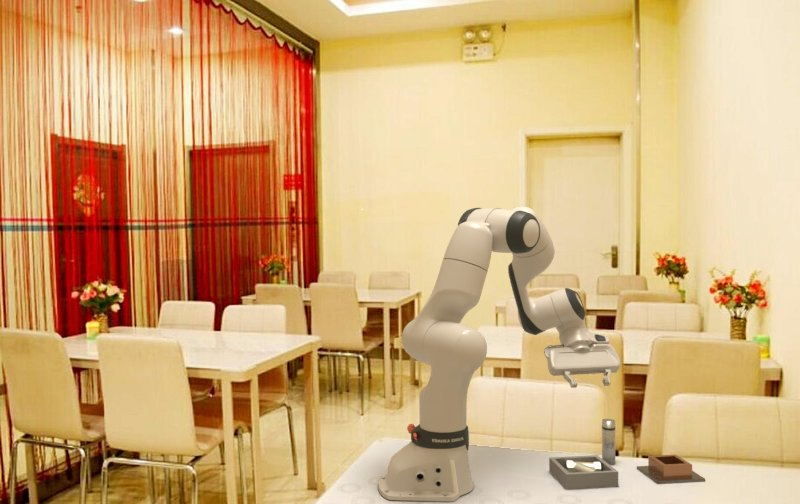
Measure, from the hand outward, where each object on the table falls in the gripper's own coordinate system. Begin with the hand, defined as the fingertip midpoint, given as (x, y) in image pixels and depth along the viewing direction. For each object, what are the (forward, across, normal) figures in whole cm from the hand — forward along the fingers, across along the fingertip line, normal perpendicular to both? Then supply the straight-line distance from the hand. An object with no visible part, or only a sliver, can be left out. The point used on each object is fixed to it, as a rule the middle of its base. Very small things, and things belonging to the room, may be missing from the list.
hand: (591, 385), depth 174 cm
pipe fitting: (+27, -11, -3) cm, 29 cm away
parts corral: (+27, -11, -4) cm, 30 cm away
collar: (+28, +11, -3) cm, 30 cm away
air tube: (+21, 0, +4) cm, 21 cm away
